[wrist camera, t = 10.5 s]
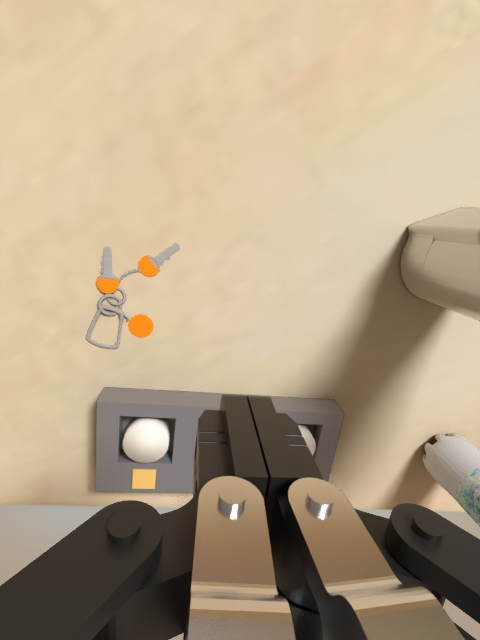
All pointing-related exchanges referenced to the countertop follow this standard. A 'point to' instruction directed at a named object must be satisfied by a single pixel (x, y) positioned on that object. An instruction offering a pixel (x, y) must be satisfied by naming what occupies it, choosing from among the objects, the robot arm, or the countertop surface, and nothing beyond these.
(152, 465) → the panel
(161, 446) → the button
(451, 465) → the bottle
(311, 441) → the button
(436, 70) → the countertop surface
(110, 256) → the key chain
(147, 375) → the countertop surface
